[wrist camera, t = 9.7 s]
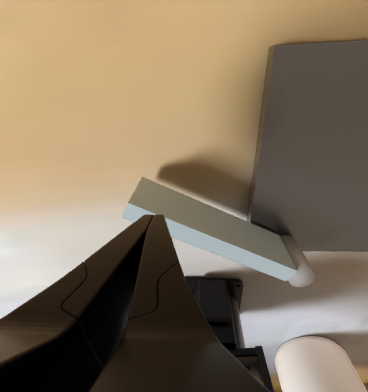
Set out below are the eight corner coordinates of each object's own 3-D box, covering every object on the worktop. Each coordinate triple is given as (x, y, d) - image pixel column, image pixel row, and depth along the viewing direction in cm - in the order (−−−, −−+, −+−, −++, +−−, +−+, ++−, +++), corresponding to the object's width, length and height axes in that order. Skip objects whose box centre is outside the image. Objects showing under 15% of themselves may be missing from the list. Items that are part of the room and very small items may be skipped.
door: (299, 240, 18) (323, 277, 14) (286, 254, 19) (305, 292, 15) (144, 172, 16) (129, 198, 12) (136, 192, 16) (121, 221, 13)
